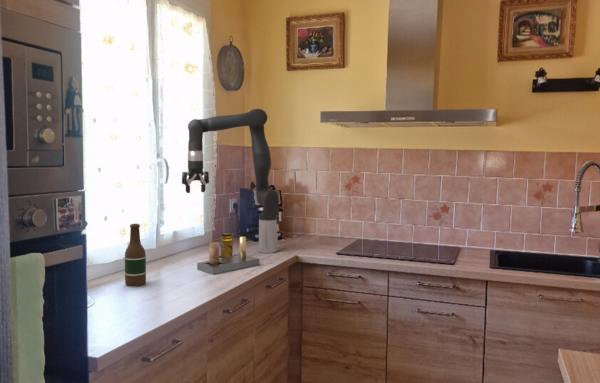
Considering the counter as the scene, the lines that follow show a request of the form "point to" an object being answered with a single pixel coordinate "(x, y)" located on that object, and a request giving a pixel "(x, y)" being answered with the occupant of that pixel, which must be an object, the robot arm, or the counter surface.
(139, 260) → the beer bottle
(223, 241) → the condiment
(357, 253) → the counter surface
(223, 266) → the bolt plate
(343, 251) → the counter surface
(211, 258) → the walnut peg
